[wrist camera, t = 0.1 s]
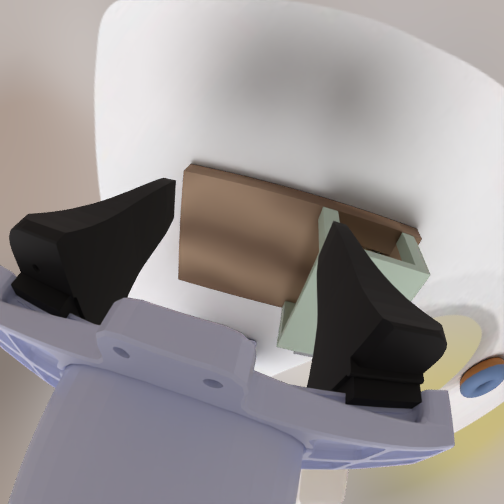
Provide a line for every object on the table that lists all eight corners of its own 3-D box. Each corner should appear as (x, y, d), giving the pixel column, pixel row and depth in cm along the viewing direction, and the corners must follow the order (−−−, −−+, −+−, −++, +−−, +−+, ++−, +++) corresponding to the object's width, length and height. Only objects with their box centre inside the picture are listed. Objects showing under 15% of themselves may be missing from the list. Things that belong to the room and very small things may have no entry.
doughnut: (452, 390, 38) (458, 410, 35) (462, 363, 34) (470, 385, 30) (493, 372, 36) (500, 390, 32) (507, 343, 31) (516, 362, 27)
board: (361, 315, 29) (362, 326, 28) (183, 269, 30) (178, 279, 29) (416, 229, 22) (421, 238, 21) (190, 163, 22) (183, 170, 21)
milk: (305, 429, 57) (290, 528, 37) (352, 431, 55) (343, 528, 35) (299, 441, 64) (286, 524, 44) (340, 442, 62) (331, 525, 42)
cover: (363, 327, 28) (366, 364, 25) (282, 308, 28) (276, 346, 25) (423, 239, 21) (440, 278, 17) (323, 206, 21) (325, 243, 17)
